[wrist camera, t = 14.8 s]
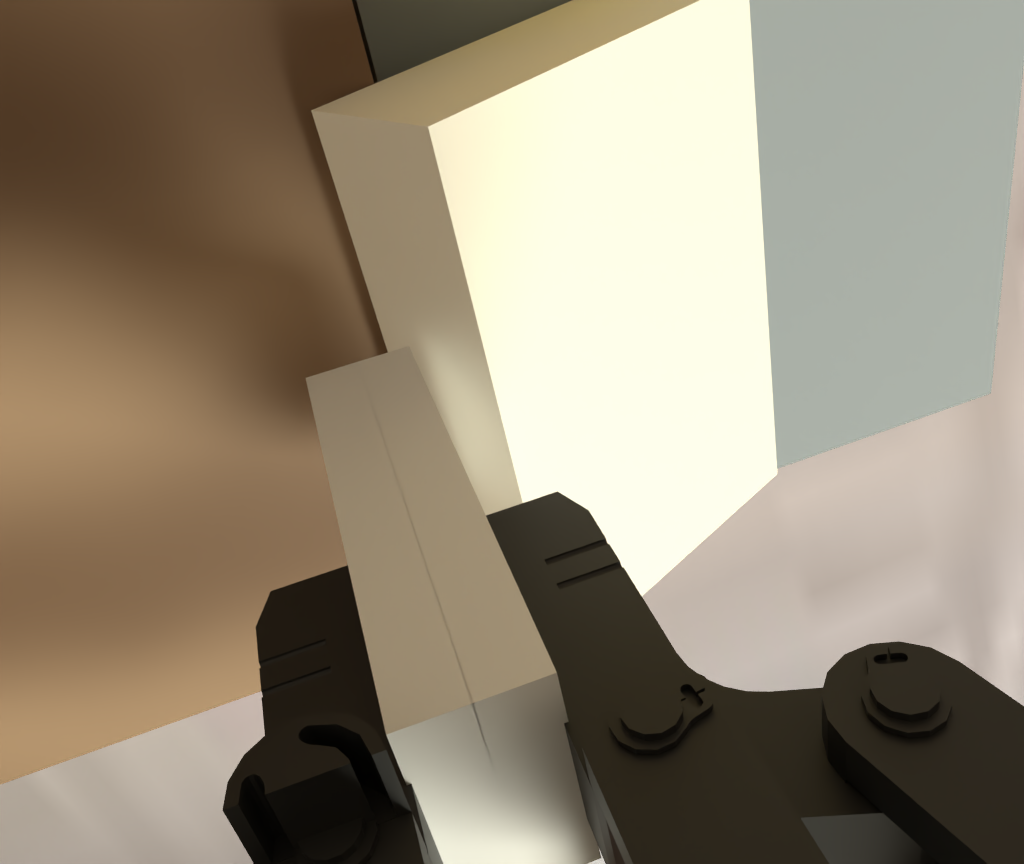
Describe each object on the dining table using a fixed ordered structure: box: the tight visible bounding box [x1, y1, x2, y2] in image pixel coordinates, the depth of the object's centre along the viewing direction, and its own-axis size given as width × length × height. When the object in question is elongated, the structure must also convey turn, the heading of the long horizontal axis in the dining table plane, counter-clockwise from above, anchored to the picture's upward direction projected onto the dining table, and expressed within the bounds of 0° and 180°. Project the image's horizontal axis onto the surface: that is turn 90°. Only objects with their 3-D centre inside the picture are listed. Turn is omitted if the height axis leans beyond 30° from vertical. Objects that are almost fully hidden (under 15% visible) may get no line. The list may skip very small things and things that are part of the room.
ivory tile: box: [311, 0, 777, 596], centre depth 16 cm, size 9×6×2 cm, turn 12°
